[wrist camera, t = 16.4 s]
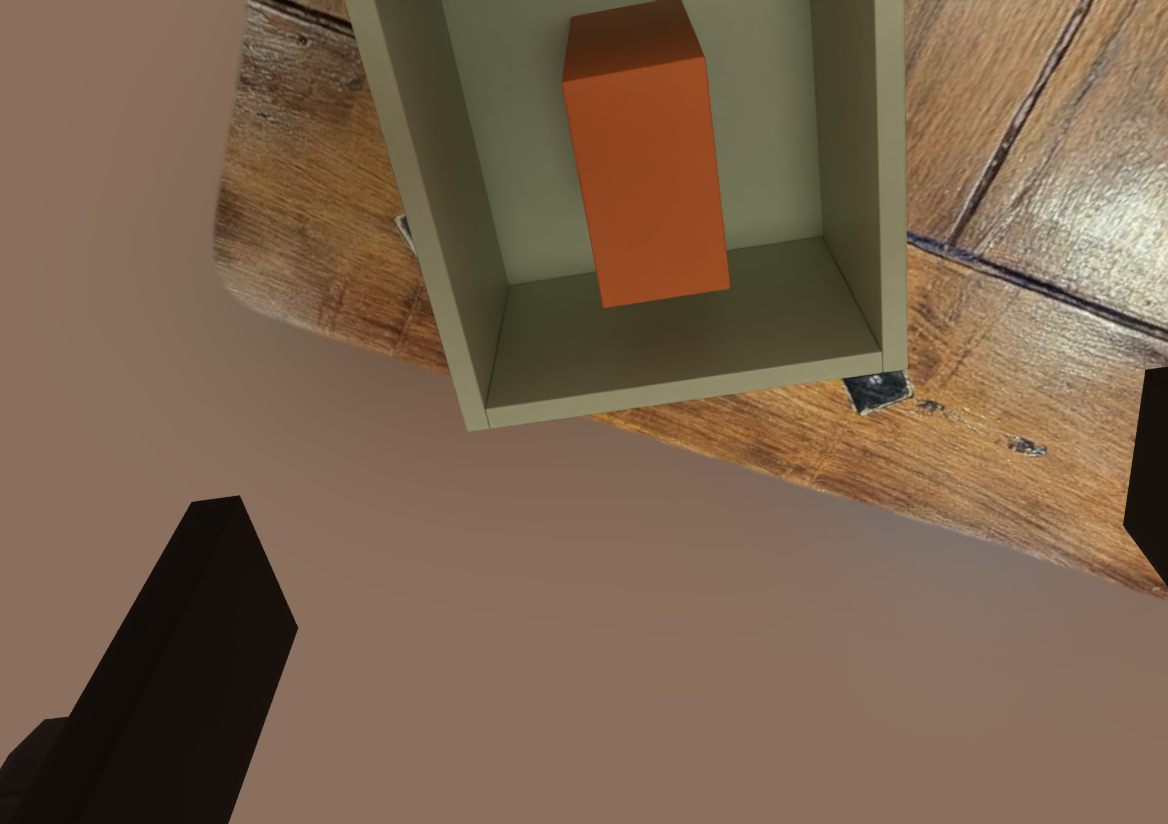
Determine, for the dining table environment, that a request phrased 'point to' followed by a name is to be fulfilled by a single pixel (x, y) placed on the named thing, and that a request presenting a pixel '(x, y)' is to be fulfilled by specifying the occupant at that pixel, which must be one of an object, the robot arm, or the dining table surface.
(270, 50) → the dining table surface
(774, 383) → the open square bin
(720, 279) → the orange rectangular prism
